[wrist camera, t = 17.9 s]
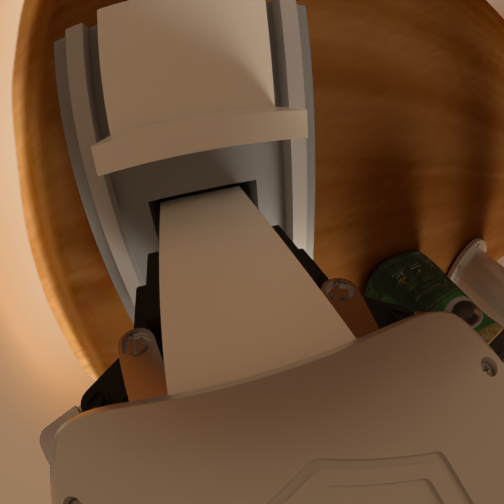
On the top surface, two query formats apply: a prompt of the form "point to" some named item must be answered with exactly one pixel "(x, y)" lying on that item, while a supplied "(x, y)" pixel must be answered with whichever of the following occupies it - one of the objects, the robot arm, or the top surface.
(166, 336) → the plug
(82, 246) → the top surface
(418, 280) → the coffee jar
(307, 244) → the socket block
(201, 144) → the shutter
